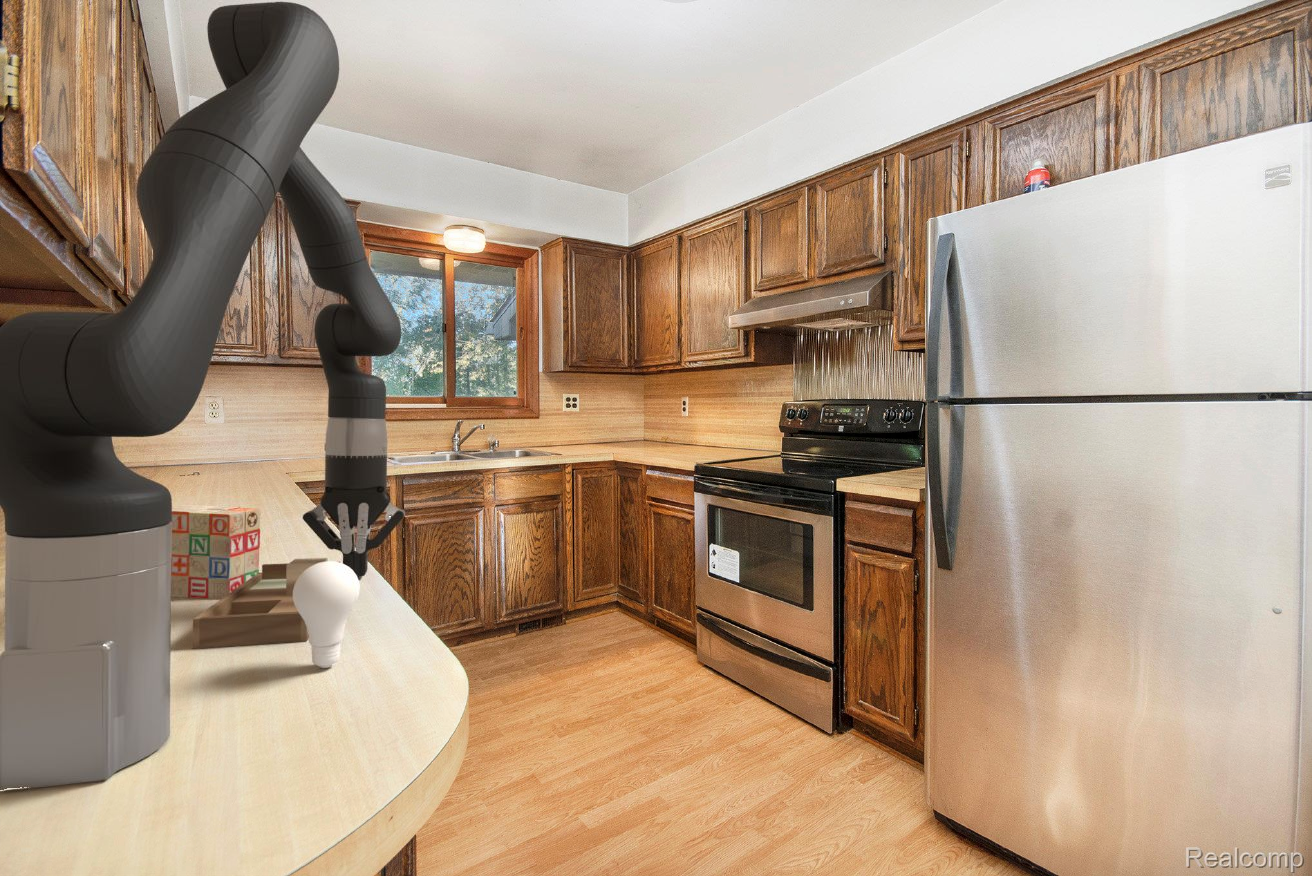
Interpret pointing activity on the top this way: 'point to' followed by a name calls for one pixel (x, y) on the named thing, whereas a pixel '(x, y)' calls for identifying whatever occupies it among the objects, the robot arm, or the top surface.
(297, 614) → the board
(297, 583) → the lightbulb
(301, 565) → the beech block
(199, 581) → the stack of blocks
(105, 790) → the top surface
